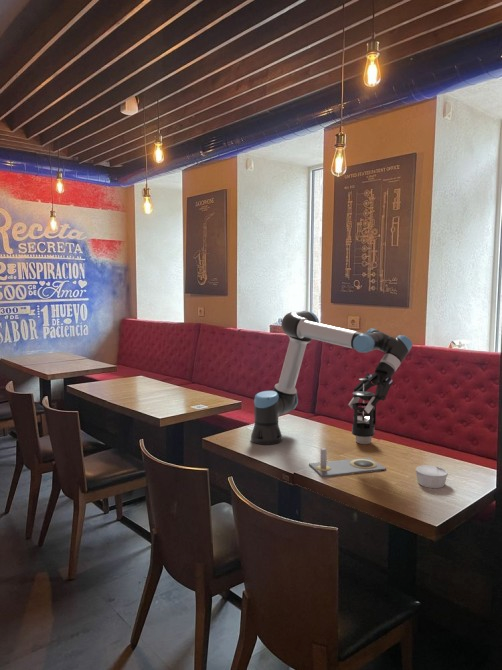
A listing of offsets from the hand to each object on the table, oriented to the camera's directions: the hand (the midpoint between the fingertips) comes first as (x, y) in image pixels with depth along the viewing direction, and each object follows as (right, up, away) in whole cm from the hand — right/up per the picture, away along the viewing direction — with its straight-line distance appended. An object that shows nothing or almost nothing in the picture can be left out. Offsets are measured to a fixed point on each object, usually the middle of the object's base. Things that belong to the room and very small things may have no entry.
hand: (358, 408), depth 201 cm
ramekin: (+24, -26, -15) cm, 39 cm away
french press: (+3, -11, +3) cm, 11 cm away
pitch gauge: (-4, -24, +2) cm, 25 cm away
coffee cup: (+10, -22, +36) cm, 43 cm away
